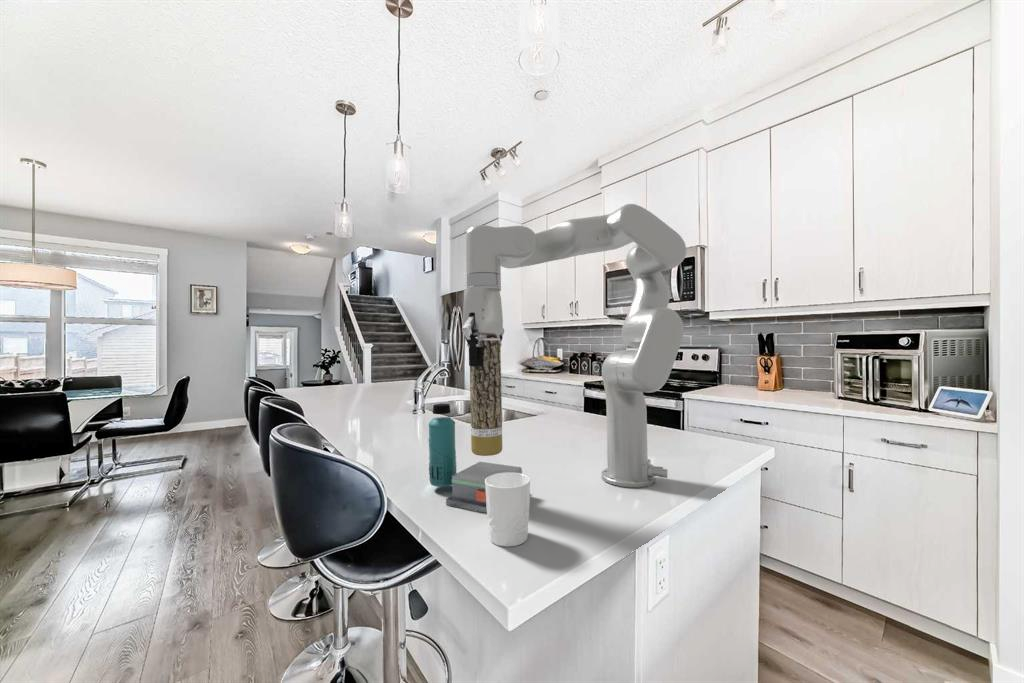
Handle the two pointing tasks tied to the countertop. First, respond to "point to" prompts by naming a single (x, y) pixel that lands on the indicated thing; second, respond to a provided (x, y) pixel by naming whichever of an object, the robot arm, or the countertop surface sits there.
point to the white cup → (507, 508)
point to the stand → (475, 485)
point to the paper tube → (486, 401)
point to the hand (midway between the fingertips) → (485, 364)
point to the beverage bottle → (442, 447)
